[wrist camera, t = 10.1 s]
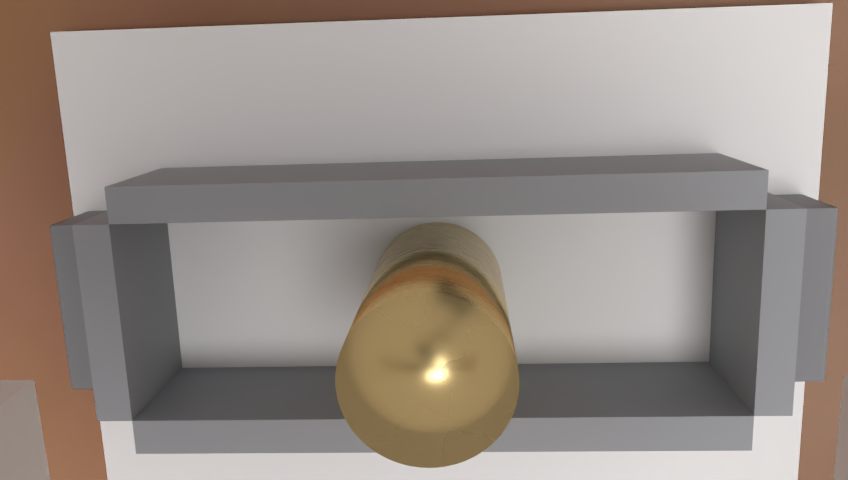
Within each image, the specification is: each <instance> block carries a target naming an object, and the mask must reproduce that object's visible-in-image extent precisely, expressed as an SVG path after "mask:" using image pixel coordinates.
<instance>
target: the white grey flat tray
mask: <svg viewBox="0 0 848 480" xmlns="http://www.w3.org/2000/svg"><path fill="white" fill-rule="evenodd" d="M832 6H833V3H819V4H792V5H765V6H739V7H712V8H685V9H658V10H631V11H604V12H577V13H550V14H524V15H497V16H470V17H443V18H416V19H389V20H362V21H335V22H309V23H282V24H255V25H228V26H201V27H174V28H147V29H120V30H94V31H67V32H50V35H51V42H52V50H53V58H54V66H55V73H56V81H57V89H58V97H59V104H60V112H61V120H62V128H63V136H64V143H65V151H66V159H67V167H68V174H69V182H70V190H71V198H72V205H73V213H74V217H71V218H69V219H66V220H63V221H61V222H58V223H56V224H53V225H50V233H51V240H52V247H53V255H54V262H55V269H56V277H57V284H58V291H59V299H60V306H61V314H62V321H63V328H64V336H65V343H66V350H67V358H68V365H69V373H70V380H71V387H72V389H93V392H94V399H95V407H96V415H97V421H100V423H101V431H102V439H103V446H104V454H105V462H106V470H107V477H108V480H798V467H799V453H800V440H801V426H802V413H803V399H804V386H805V382H810V381H825V369H826V357H827V344H828V331H829V319H830V306H831V294H832V281H833V269H834V256H835V243H836V231H837V218H838V208H837V207H834V206H832V205H829V204H827V203H824V202H821V201H819V200H818V196H819V182H820V169H821V155H822V142H823V128H824V115H825V101H826V88H827V74H828V61H829V47H830V33H831V20H832ZM432 222H444V223H451V224H455V225H459V226H461V227H464V228H466V229H468V230H470V231H472V232H473V233H475V234H476V235H477V236H479V237H480V238H481V239H482V240H483V241H484V242H485V243H486V244H487V245H488V246H489V248H490V249H491V250H492V252H493V254H494V255H495V257H496V259H497V262H498V264H499V267H500V271H501V276H502V281H503V287H504V292H505V298H506V303H507V309H508V314H509V320H510V325H511V331H512V336H513V342H514V347H515V353H516V358H517V364H518V370H519V379H520V383H519V395H518V401H517V405H516V408H515V411H514V414H513V416H512V418H511V420H510V422H509V424H508V426H507V427H506V429H505V430H504V431H503V433H502V434H501V435H500V436H499V438H498V439H497V440H496V441H495V442H494V443H493V444H492V445H490V446H489V447H488V448H487V449H486V450H484V451H483V452H481V453H480V454H478V455H477V456H475V457H473V458H471V459H469V460H467V461H464V462H461V463H458V464H455V465H450V466H446V467H437V468H419V467H413V466H407V465H404V464H400V463H397V462H394V461H392V460H389V459H387V458H385V457H383V456H381V455H380V454H378V453H376V452H375V451H373V450H372V449H371V448H369V447H368V446H367V445H366V444H365V443H363V442H362V441H361V440H360V439H359V438H358V437H357V435H356V434H355V433H354V432H353V430H352V429H351V428H350V426H349V425H348V423H347V421H346V420H345V418H344V416H343V413H342V411H341V409H340V406H339V403H338V399H337V394H336V388H335V373H336V364H337V361H338V357H339V353H340V351H341V348H342V346H343V344H344V341H345V339H346V337H347V334H348V332H349V330H350V328H351V325H352V323H353V321H354V318H355V316H356V314H357V311H358V309H359V307H360V304H361V302H362V300H363V298H364V295H365V293H366V291H367V288H368V286H369V284H370V281H371V279H372V277H373V275H374V272H375V270H376V268H377V265H378V263H379V261H380V258H381V256H382V254H383V253H384V251H385V249H386V248H387V247H388V246H389V244H390V243H391V242H392V241H393V240H394V239H395V238H396V237H397V236H399V235H400V234H401V233H403V232H404V231H406V230H408V229H410V228H412V227H415V226H417V225H421V224H425V223H432Z"/></svg>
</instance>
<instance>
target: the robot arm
mask: <svg viewBox="0 0 848 480" xmlns="http://www.w3.org/2000/svg"><path fill="white" fill-rule="evenodd" d="M0 480H50V476H49V470H48V464H47V457H46V451H45V445H44V439H43V432H42V426H41V420H40V414H39V407H38V401H37V395H36V388H35V382H34V380H0ZM834 480H848V375H844V376H843V387H842V397H841V408H840V418H839V428H838V439H837V449H836V460H835V470H834Z"/></svg>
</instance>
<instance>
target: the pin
mask: <svg viewBox="0 0 848 480" xmlns="http://www.w3.org/2000/svg"><path fill="white" fill-rule="evenodd" d="M519 383H520V379H519V370H518V364H517V358H516V353H515V347H514V342H513V336H512V331H511V325H510V320H509V314H508V309H507V303H506V298H505V292H504V287H503V281H502V276H501V271H500V267H499V264H498V262H497V259H496V257H495V255H494V254H493V252H492V250H491V249H490V248H489V246H488V245H487V244H486V243H485V242H484V241H483V240H482V239H481V238H480V237H479V236H477V235H476V234H475V233H473V232H472V231H470V230H468V229H466V228H464V227H461V226H459V225H455V224H451V223H444V222H432V223H425V224H421V225H417V226H415V227H412V228H410V229H408V230H406V231H404V232H403V233H401V234H400V235H399V236H397V237H396V238H395V239H394V240H393V241H392V242H391V243H390V244H389V246H388V247H387V248H386V249H385V251H384V253H383V254H382V256H381V258H380V261H379V263H378V265H377V268H376V270H375V272H374V275H373V277H372V279H371V281H370V284H369V286H368V288H367V291H366V293H365V295H364V298H363V300H362V302H361V304H360V307H359V309H358V311H357V314H356V316H355V318H354V321H353V323H352V325H351V328H350V330H349V332H348V334H347V337H346V339H345V341H344V344H343V346H342V348H341V351H340V353H339V357H338V361H337V364H336V373H335V388H336V394H337V399H338V403H339V406H340V409H341V411H342V413H343V416H344V418H345V420H346V421H347V423H348V425H349V426H350V428H351V429H352V430H353V432H354V433H355V434H356V435H357V437H358V438H359V439H360V440H361V441H362V442H363V443H365V444H366V445H367V446H368V447H369V448H371V449H372V450H373V451H375V452H376V453H378V454H380V455H381V456H383V457H385V458H387V459H389V460H392V461H394V462H397V463H400V464H404V465H407V466H413V467H419V468H437V467H446V466H450V465H455V464H458V463H461V462H464V461H467V460H469V459H471V458H473V457H475V456H477V455H478V454H480V453H481V452H483V451H484V450H486V449H487V448H488V447H489V446H490V445H492V444H493V443H494V442H495V441H496V440H497V439H498V438H499V436H500V435H501V434H502V433H503V431H504V430H505V429H506V427H507V426H508V424H509V422H510V420H511V418H512V416H513V414H514V411H515V408H516V405H517V401H518V395H519Z"/></svg>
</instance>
